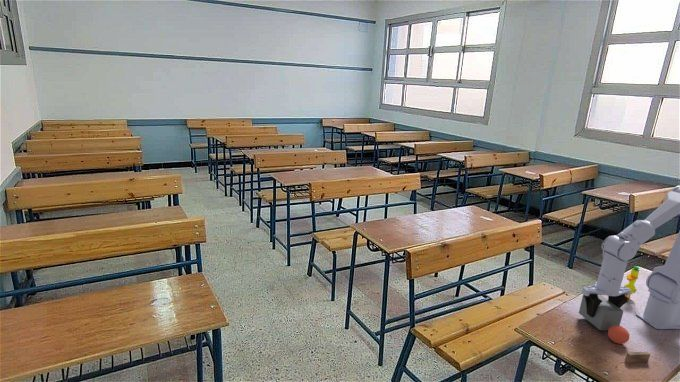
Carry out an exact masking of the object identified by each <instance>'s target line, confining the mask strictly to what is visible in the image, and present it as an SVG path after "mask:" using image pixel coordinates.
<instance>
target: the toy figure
mask: <svg viewBox="0 0 680 382" xmlns="http://www.w3.org/2000/svg"><path fill="white" fill-rule="evenodd" d="M639 274H640V267H639V266H637V265H634V266H633V268H631V270H630V273H629V274H627V275H626V280H627V281H628V283H626V284H624V286H623V287H627V288H629V289H631V290H632V291H631V295H633V294H635V293H636V292H637V288H636V286H635V283H636V281H637V280H638V279H639ZM631 295H630V296H627V295H625V297H627V298H628V300H630V299H631Z"/></svg>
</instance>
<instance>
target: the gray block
mask: <svg viewBox="0 0 680 382" xmlns="http://www.w3.org/2000/svg"><path fill="white" fill-rule="evenodd" d="M598 298H599V299H600V300H602V302H601V303H600V305H599V306H598V308H597V310H596V313H595V315H594V317H590V316H589V315H588V314H587V307H586V301H585V297H584V295H583V294H582V297H581V301H580V307H579V310H578V314H579V315H580V316H582V318H584V319H586V320H587V321H588V322H589V323H590V324H592V325H593V326H594V327H595V328H596V329H598V331H599V330H600V331H608V330H609V328H610V327H612V326H616V325H617V326H621V322H622V318H623V315H624V310H623V309H622V308H621V307H620V308H619V307H617V306H616V305H614V304H613V303H611V302H610V301H608V298H606V297H604V295H598Z"/></svg>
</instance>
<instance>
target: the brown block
mask: <svg viewBox="0 0 680 382" xmlns="http://www.w3.org/2000/svg"><path fill="white" fill-rule="evenodd" d="M650 358H651V353H649V352H648V351H632V352H631V351H628V352H626V355H625V358H624V361H625V362H626V363H627V364H628V363H633V364H634V363H649V360H650Z"/></svg>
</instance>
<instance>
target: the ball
mask: <svg viewBox="0 0 680 382" xmlns="http://www.w3.org/2000/svg"><path fill="white" fill-rule="evenodd" d="M607 335H608V338H609V339H610V340H611V341H612V342H613V343H615V344H618V345H623V344H626V343H628V341H629V340H630V333H629V331H628V330H627V328H625V327H623V326H621V325H620V326H617V325H616V326H612V327H610V328H609V330H607Z"/></svg>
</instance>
